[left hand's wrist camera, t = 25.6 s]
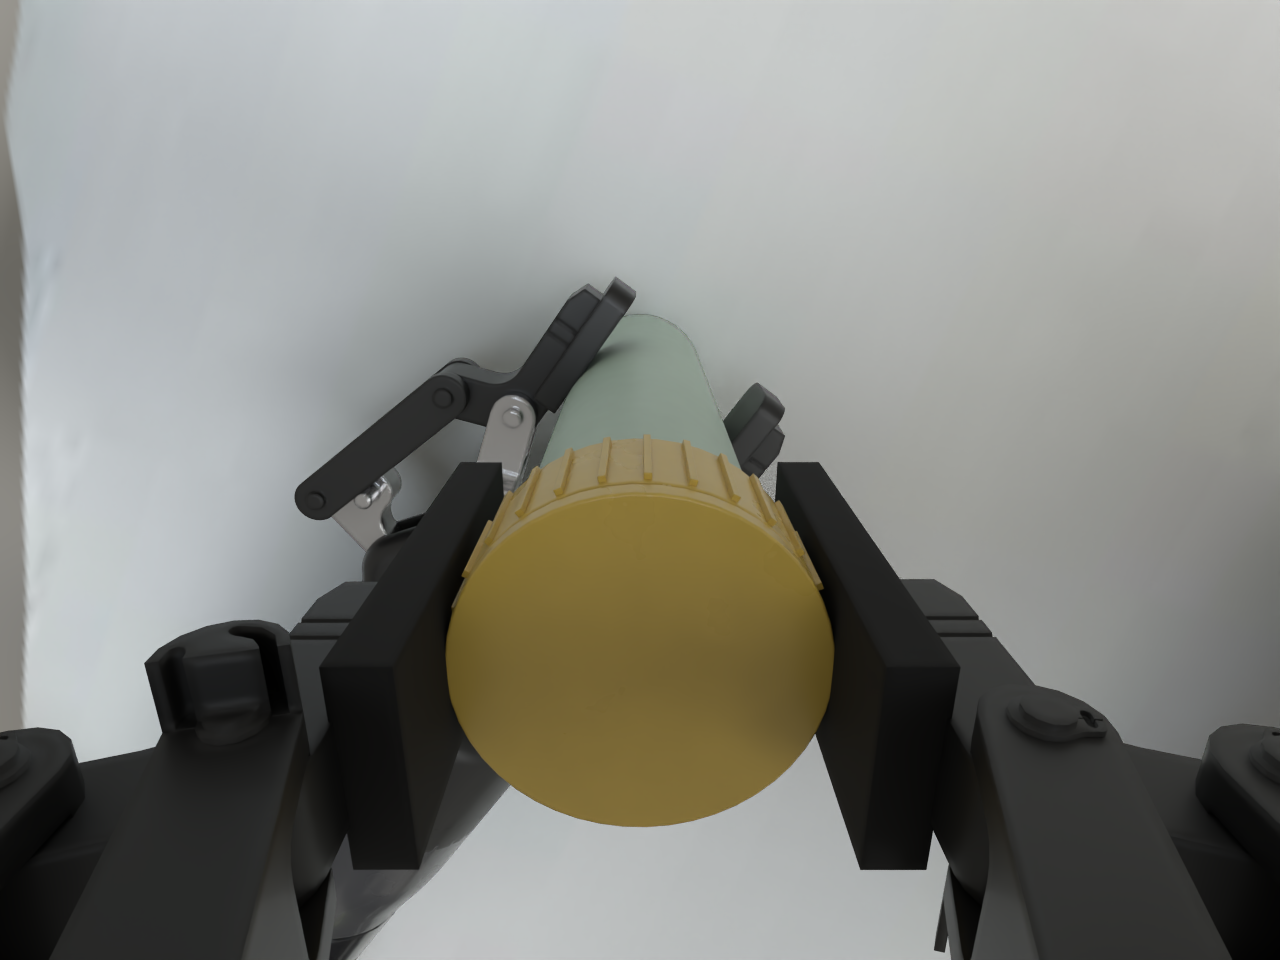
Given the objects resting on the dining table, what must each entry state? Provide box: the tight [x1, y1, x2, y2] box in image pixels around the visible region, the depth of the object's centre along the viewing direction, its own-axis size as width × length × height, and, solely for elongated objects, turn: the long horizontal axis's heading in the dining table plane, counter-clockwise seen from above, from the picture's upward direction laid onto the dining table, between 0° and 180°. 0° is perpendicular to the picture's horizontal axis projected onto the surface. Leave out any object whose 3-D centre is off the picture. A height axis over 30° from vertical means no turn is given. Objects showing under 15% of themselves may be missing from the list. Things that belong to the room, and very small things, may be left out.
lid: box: [445, 434, 835, 827], centre depth 11 cm, size 5×5×2 cm
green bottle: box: [539, 314, 741, 470], centre depth 19 cm, size 4×4×17 cm
